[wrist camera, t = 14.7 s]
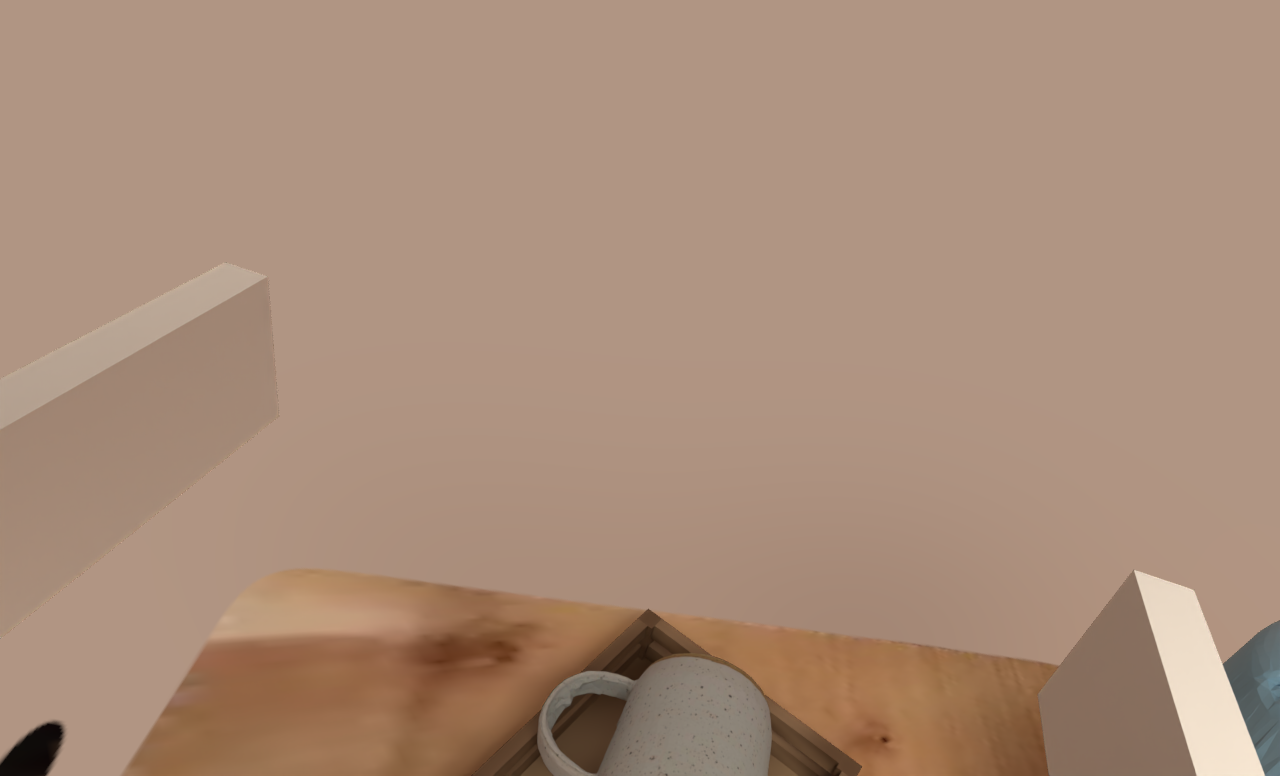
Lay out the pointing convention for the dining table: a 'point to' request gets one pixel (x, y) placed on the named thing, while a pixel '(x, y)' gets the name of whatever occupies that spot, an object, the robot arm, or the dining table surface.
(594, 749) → the walnut crate
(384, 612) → the dining table surface
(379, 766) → the dining table surface
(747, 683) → the ceramic mug
